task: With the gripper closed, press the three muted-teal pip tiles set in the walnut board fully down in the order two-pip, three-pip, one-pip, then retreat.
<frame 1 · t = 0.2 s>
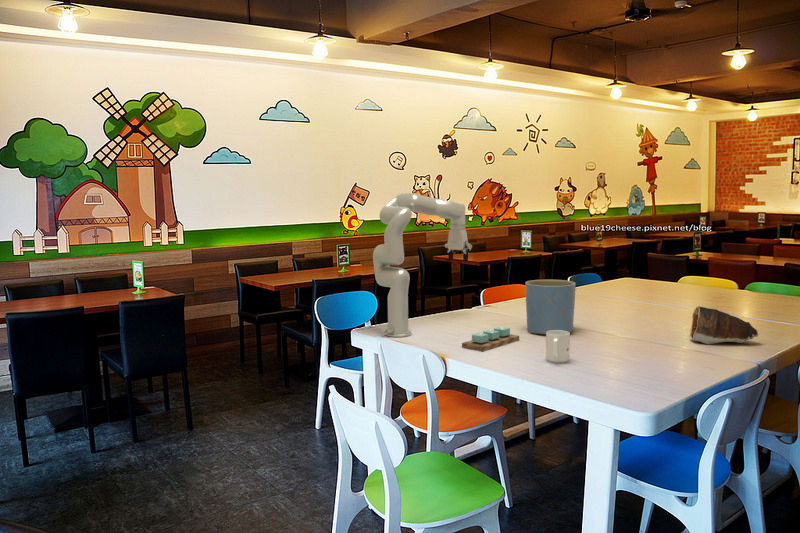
hand: (458, 260, 312), 31 cm above the table, fingers open, 9 cm apart
planter: (549, 332, 284), on the table
tile three: (501, 331, 268), point 4 cm above the table, slide at 0.0 cm
brown wedge: (723, 343, 257), on the table
mug: (557, 362, 232), on the table
tile two: (491, 334, 262), point 4 cm above the table, slide at 0.0 cm
tile one: (480, 337, 256), point 4 cm above the table, slide at 0.0 cm
board: (491, 343, 262), on the table
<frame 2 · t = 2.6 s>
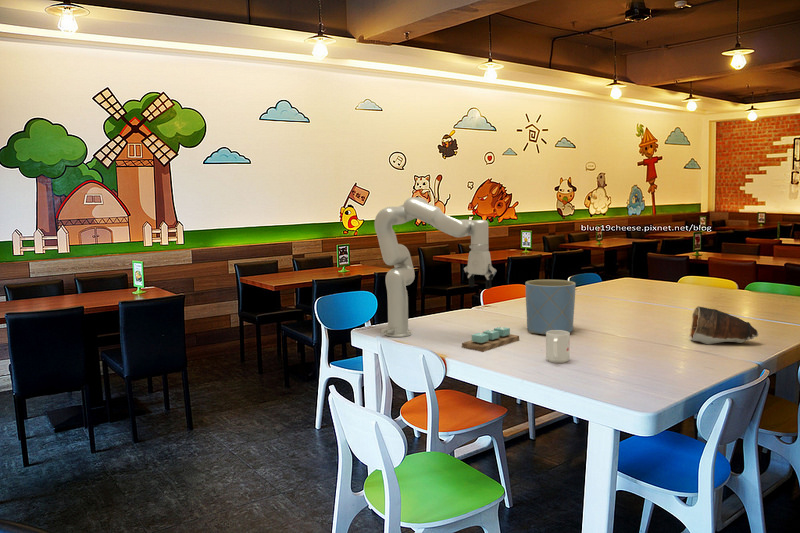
hand: (479, 287, 264), 24 cm above the table, fingers open, 8 cm apart
nothing on the table moved.
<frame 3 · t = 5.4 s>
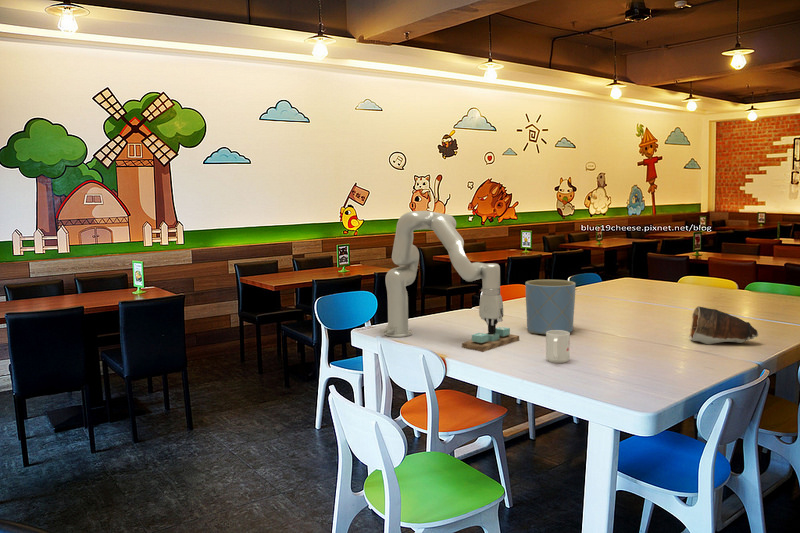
hand: (491, 333, 262), 5 cm above the table, fingers closed
tile two: (491, 337, 262), point 3 cm above the table, slide at -1.2 cm, touching gripper
everything else where it was.
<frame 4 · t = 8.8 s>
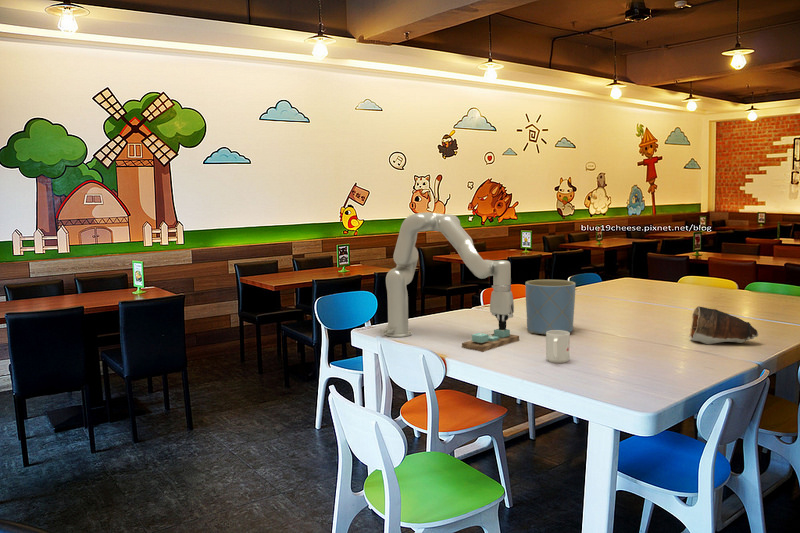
hand: (502, 329, 267), 5 cm above the table, fingers closed
tile three: (501, 332, 268), point 4 cm above the table, slide at -0.7 cm, touching gripper
tile two: (491, 339, 262), point 2 cm above the table, slide at -2.5 cm
everything else where it was.
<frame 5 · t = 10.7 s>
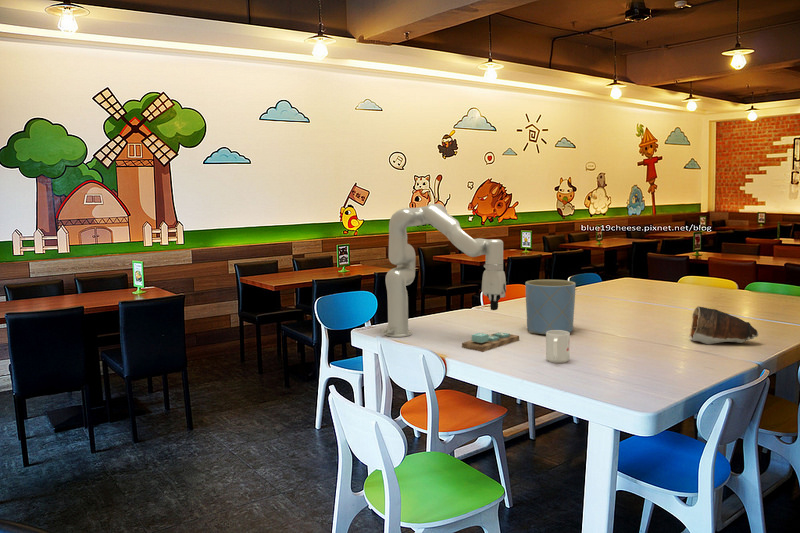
hand: (494, 309, 262), 15 cm above the table, fingers closed
tile three: (501, 336, 268), point 2 cm above the table, slide at -2.5 cm
everything else where it was.
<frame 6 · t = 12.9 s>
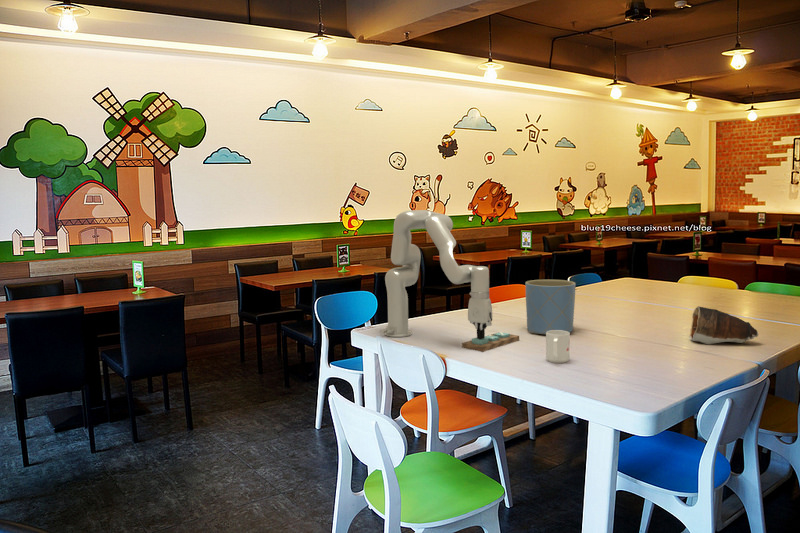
hand: (480, 338, 256), 4 cm above the table, fingers closed
tile one: (480, 341, 256), point 2 cm above the table, slide at -1.7 cm, touching gripper
everything else where it was.
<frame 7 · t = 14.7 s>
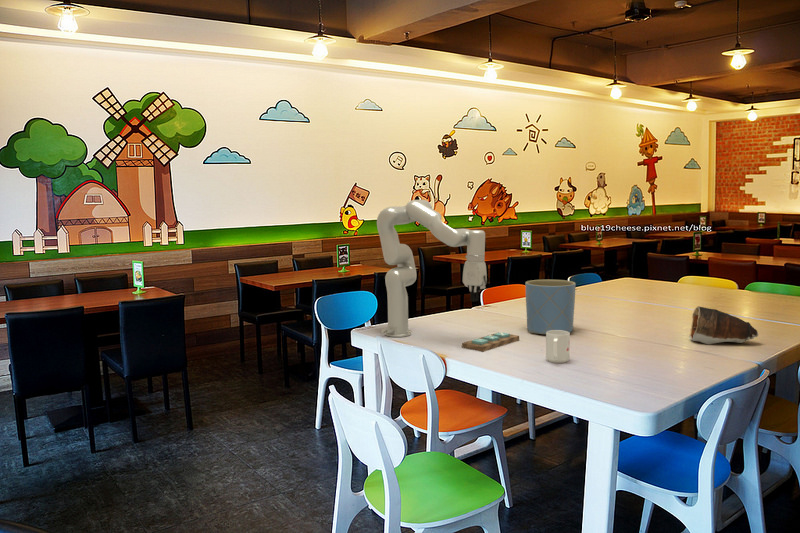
hand: (474, 300, 261), 19 cm above the table, fingers closed
tile one: (480, 343, 257), point 2 cm above the table, slide at -2.5 cm
everything else where it was.
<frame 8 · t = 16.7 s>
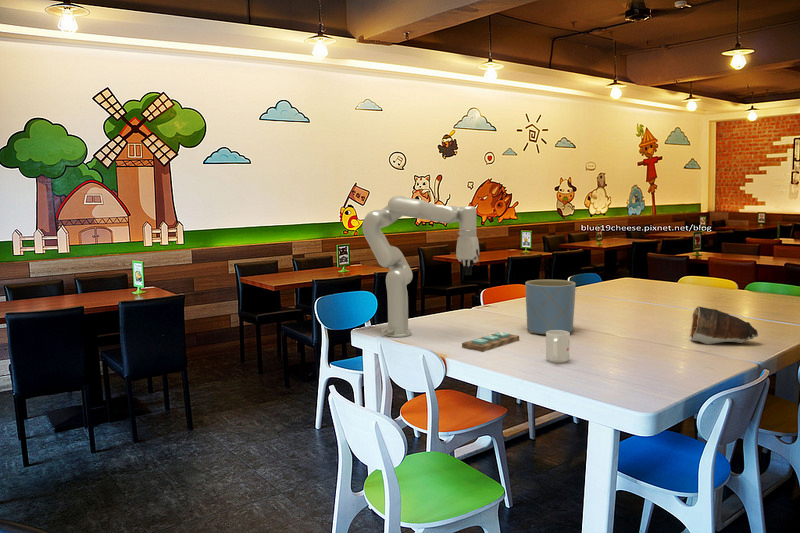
hand: (468, 274, 270), 29 cm above the table, fingers closed
nothing on the table moved.
at the end: tile two slide at -2.5 cm; tile three slide at -2.5 cm; tile one slide at -2.5 cm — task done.
